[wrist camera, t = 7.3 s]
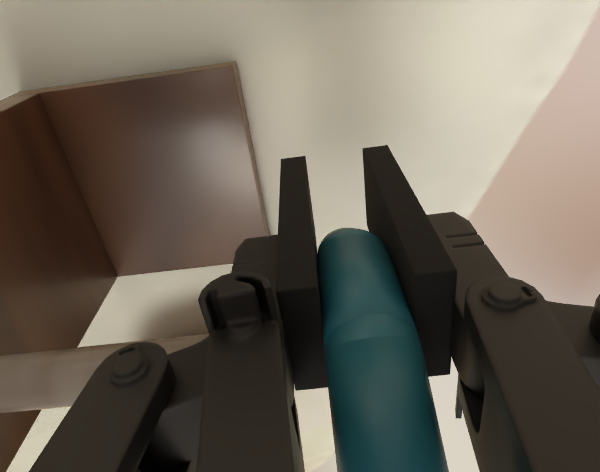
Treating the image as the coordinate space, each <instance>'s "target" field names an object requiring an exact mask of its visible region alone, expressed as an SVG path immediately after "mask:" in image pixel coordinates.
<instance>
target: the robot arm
mask: <svg viewBox="0 0 600 472" xmlns="http://www.w3.org/2000/svg"><path fill="white" fill-rule="evenodd" d="M363 163H364V181H365V198H366V216H367V226H368V229H369V232H370V233H372V234H374V235H375V236H377V237H378V238H379V239H380V240H381V241H382V242H383V243H384V244H385V246H386V247H387V249H388V251H389V253H390V256H391V259H392V262H393V265H394V267H395V270H396V273H397V276H398V279H399V282H400V284H401V287H402V290H403V293H404V296H405V298H406V301H407V304H408V307H409V310H410V313H411V315H412V318H413V321H414V324H415V327H416V329H417V332H418V335H419V338H420V342H421V346H422V351H423V356H424V360H425V365H426V369H427V374H428V377H429V376H438V375H448V374H450V366H451V357H452V359H453V362H454V364H455V366H456V368H457V371H458V373H459V374H458V385H457V396H456V397H457V398H456V408H455V410H456V418H461V416H462V410H463V414H464V417H465V421H466V424H467V428H468V432H469V435H470V439H471V442H472V445H473V449H474V453H475V456H476V460H477V463H478V467H479V470H480V472H600V295H599V296H598V297H597V299H596V302H595V305H594V307H590V306H580V305H571V304H562V303H556V302H549V301H546V300H545V299H544V298H543V296H542V295H541V294H540V293H539V292H538V291H537V290H536V289H535V288H534V287H533V286H531V285H529V284H527V283H525V282H524V281H522V280H518V279H514V278H510V277H509V276H508V275H507V274H506V272H505V271H504V269H503V268H502V266H501V265H500V264H499V262H498V261H497V260H496V258H495V257H494V255H493V254H492V253H491V251H490V250H489V248H488V247H487V246H486V245H484V241H483V240H482V239H481V237H480V236H479V235H477V232H476V230H475V229H474V227H473V226H472V225H471V223H470V222H469V221H468V220H467V219H465V218H463V217H461V216H460V215H458V214H456V213H455V212H448V213H439V214H431V215H426V214H425V212H424V210H423V208H422V206H421V205H420V203H419V201H418V199H417V197H416V196H415V194H414V192H413V190H412V189H411V187H410V185H409V183H408V181H407V180H406V178H405V176H404V174H403V172H402V171H401V169H400V167H399V165H398V164H397V162H396V160H395V158H394V156H393V155H392V153H391V151H390V149H389V147H388V146H387V145H385V146H377V147H370V148H363ZM198 301H199V304H200V307H201V311H202V314H203V317H204V320H205V323H206V326H207V329H208V332H209V336H208V337H206V338H205V339H203V340H202V341H200V342H198V343H196V344H194V345H192V346H189V347H187V348H184V349H181V350H178V351H175V352H173V353H170V354H167V353H166V350H165V349H164V348H163V347H161V346H160V345H159V344H157V343H151V342H139V343H133V344H130V345H128V346H125V347H123V348H120V349H118V350H117V351H115V352H114V353H112V354H111V355H109V356H108V357H106V358H105V359H104V361H103V362H102V363H101V364H100V365H99V366H98V367H97V368H96V370H95V371H94V373H93V374H92V376H91V378H90V379H89V381H88V382H87V384H86V385H85V387H84V388H83V390H82V391H81V393H80V394H79V396H78V397H77V399H76V400H75V402H74V403H73V405H72V407H71V408H70V410H69V411H68V413H67V414H66V416H65V417H64V419H63V420H62V422H61V423H60V425H59V426H58V428H57V429H56V431H55V432H54V434H53V436H52V437H51V439H50V440H49V442H48V443H47V445H46V446H45V448H44V449H43V451H42V452H41V454H40V455H39V457H38V458H37V460H36V461H35V463H34V465H33V466H32V468H31V469H30V471H29V472H305V469H304V461H303V453H302V446H301V438H300V430H299V422H298V414H297V408H296V403H295V398H294V385H295V390H305V389H315V388H324V387H328V381H327V372H326V362H325V353H324V342H323V324H322V314H321V304H320V293H319V283H318V272H317V246H316V236H315V227H314V220H313V212H312V204H311V197H310V189H309V181H308V174H307V166H306V158H305V156H301V157H293V158H286V159H281V173H280V198H279V223H278V235H271V236H263V237H255V238H247V239H245V240H244V241H243V242H242V243H241V245H240V246H239V247H238V248H237V249H236V251H235V256H234V261H233V266H232V272H231V273H230V274H226V275H223V276H221V277H219V278H217V279H215V280H213V281H212V282H210V283H209V284H208V285H207V286H206V287H205V288H204V289H203V290H202V291H201V294H200V296H199V298H198Z"/></svg>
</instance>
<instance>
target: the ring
mask: <svg viewBox="0 0 600 472" xmlns="http://www.w3.org/2000/svg"><path fill="white" fill-rule="evenodd" d="M317 272H318V283H319V293H320V304H321V314H322V324H323V342H324V353H325V362H326V372H327V381H328V390H329V399H330V408H331V417H332V426H333V435H334V444H335V453H336V463H337V471H338V472H449V470H448V466H447V461H446V457H445V452H444V447H443V443H442V438H441V434H440V429H439V425H438V420H437V416H436V411H435V406H434V402H433V397H432V392H431V388H430V383H429V379H428V374H427V369H426V365H425V360H424V356H423V351H422V346H421V342H420V338H419V335H418V332H417V329H416V327H415V324H414V321H413V318H412V315H411V313H410V310H409V307H408V304H407V301H406V298H405V296H404V293H403V290H402V287H401V284H400V282H399V279H398V276H397V273H396V270H395V267H394V265H393V262H392V259H391V256H390V253H389V251H388V249H387V247H386V246H385V244H384V243H383V242H382V241H381V240H380V239H379V238H378V237H377V236H375V235H374V234H372V233H370V232H368V231H365V230H361V229H355V228H340V229H337V230H335V231H332V232H331V233H329V234H328V235H327V236H326V237H325V238H324V239H323V241H322V242H321V244H320V246H319V249H318V253H317Z"/></svg>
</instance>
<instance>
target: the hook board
mask: <svg viewBox="0 0 600 472" xmlns="http://www.w3.org/2000/svg"><path fill="white" fill-rule="evenodd" d="M263 236H270V235H269V230H268V225H267V220H266V215H265V210H264V204H263V199H262V194H261V189H260V184H259V179H258V173H257V168H256V163H255V158H254V153H253V148H252V143H251V137H250V132H249V127H248V122H247V117H246V112H245V107H244V101H243V96H242V91H241V86H240V81H239V76H238V71H237V65H236V62H235V61H234V62H227V63H220V64H213V65H206V66H199V67H192V68H185V69H178V70H171V71H163V72H156V73H149V74H142V75H135V76H128V77H121V78H114V79H107V80H100V81H93V82H85V83H78V84H71V85H64V86H57V87H50V88H43V89H36V90H29V91H22V92H19V93H17V94H14V95H12V96H10V97H8V98H6V99H3V100H1V101H0V472H6V471H7V469H8V467H9V465H10V464H11V462H12V460H13V459H14V457H15V455H16V453H17V452H18V450H19V448H20V446H21V445H22V443H23V441H24V439H25V438H26V436H27V434H28V432H29V431H30V429H31V427H32V425H33V424H34V422H35V420H36V418H37V417H38V415H39V413H40V411H41V410H42V409H49V408H59V407H69V406H72V405H73V403H74V402H75V400H76V399H77V397H78V396H79V394H80V393H81V391H82V390H83V388H84V387H85V385H86V384H87V382H88V381H89V379H90V378H91V376H92V374H93V373H94V371H95V370H96V368H97V367H98V366H99V365H100V364H101V363H102V362H103V361H104V359H105V358H106V357H108V356H109V355H111V354H112V353H114V352H115V351H117V350H118V349H120V348H123V347H125V346H128V345H130V344H133V343H139V342H151V343H157V344H159V345H160V346H161V347H163V348H164V349H165V350H166V353H167V354H170V353H173V352H175V351H178V350H181V349H184V348H187V347H189V346H192V345H194V344H196V343H198V342H200V341H202V340H203V339H205V338H206V337H208V336H209V334H202V335H192V336H183V337H173V338H164V339H154V340H145V341H136V342H126V343H117V344H107V345H98V346H88V347H79V348H77V347H78V345H79V343H80V341H81V340H82V338H83V336H84V334H85V333H86V331H87V329H88V327H89V326H90V324H91V322H92V320H93V319H94V317H95V315H96V313H97V312H98V310H99V308H100V306H101V305H102V303H103V301H104V299H105V298H106V296H107V294H108V292H109V291H110V289H111V287H112V285H113V284H114V282H115V280H116V279H117V277H118V276H127V275H136V274H145V273H153V272H162V271H171V270H179V269H188V268H197V267H205V266H214V265H223V264H232V263H233V261H234V256H235V251H236V249H237V248H238V247H239V246H240V245H241V243H242V242H243V241H244V240H245V239H247V238H255V237H263Z"/></svg>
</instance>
